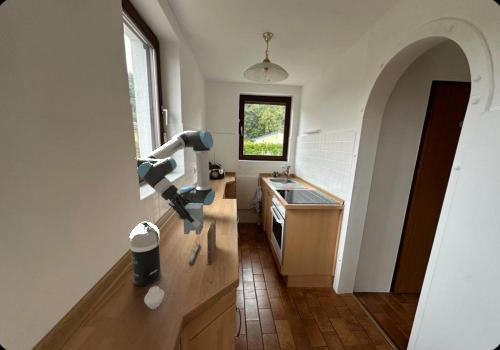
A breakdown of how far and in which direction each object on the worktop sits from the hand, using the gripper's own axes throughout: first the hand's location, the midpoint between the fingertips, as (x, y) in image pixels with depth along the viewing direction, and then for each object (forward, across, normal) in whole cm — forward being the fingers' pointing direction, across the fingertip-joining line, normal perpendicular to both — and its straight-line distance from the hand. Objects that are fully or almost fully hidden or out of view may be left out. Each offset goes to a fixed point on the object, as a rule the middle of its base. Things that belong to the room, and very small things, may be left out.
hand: (200, 221), depth 91 cm
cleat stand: (+13, 0, -12) cm, 18 cm away
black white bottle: (0, +17, -26) cm, 31 cm away
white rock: (+6, +30, -19) cm, 36 cm away
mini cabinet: (+1, 0, -6) cm, 6 cm away
